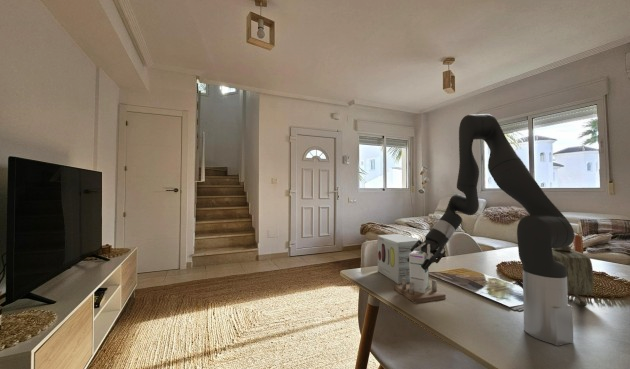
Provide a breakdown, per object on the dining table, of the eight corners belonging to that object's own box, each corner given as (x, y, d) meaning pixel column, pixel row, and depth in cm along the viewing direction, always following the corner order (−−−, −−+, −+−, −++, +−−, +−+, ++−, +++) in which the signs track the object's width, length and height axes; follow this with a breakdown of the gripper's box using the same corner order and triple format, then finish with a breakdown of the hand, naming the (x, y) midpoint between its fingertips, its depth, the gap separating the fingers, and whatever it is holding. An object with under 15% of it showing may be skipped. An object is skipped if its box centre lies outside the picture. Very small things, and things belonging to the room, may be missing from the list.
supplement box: (376, 271, 125) (376, 235, 125) (399, 269, 129) (399, 233, 129) (398, 284, 108) (397, 242, 109) (423, 280, 112) (423, 239, 113)
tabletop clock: (594, 309, 84) (592, 234, 85) (562, 307, 86) (560, 233, 87) (561, 292, 99) (559, 228, 99) (534, 290, 100) (533, 227, 101)
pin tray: (445, 298, 94) (445, 283, 94) (415, 303, 90) (414, 287, 90) (422, 285, 106) (422, 272, 106) (395, 289, 103) (394, 275, 103)
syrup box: (425, 293, 94) (424, 255, 95) (409, 290, 98) (408, 252, 98) (429, 289, 99) (428, 251, 99) (413, 285, 103) (413, 249, 103)
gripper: (422, 225, 107) (399, 254, 104) (447, 230, 94) (421, 264, 91) (433, 237, 109) (410, 266, 106) (460, 244, 95) (434, 277, 92)
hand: (415, 265), depth 98 cm, fingers open, 8 cm apart
